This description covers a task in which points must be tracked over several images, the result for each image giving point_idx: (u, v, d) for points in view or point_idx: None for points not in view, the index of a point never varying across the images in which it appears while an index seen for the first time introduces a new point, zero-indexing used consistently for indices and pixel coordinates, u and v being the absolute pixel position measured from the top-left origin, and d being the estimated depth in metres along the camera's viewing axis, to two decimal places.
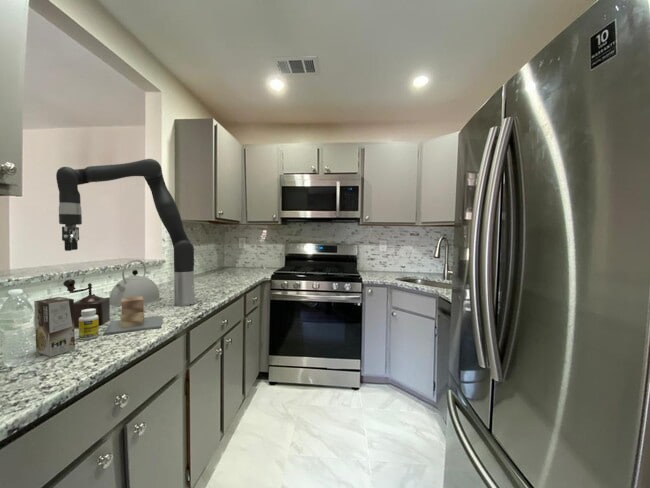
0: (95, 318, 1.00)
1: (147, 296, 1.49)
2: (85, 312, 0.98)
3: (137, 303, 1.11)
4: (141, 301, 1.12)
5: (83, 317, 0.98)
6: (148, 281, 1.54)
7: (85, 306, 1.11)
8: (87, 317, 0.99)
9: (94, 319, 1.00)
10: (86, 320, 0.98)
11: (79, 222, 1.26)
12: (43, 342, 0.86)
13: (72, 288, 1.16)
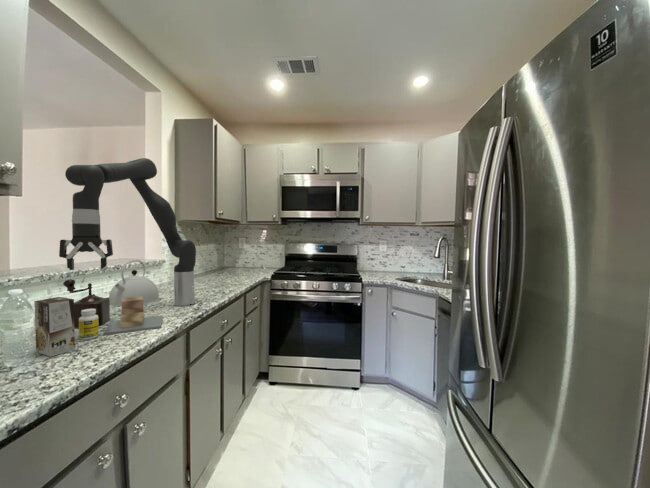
0: (95, 318, 1.00)
1: (146, 296, 1.49)
2: (85, 312, 0.98)
3: (137, 303, 1.11)
4: (141, 301, 1.12)
5: (83, 317, 0.98)
6: (147, 281, 1.54)
7: (85, 306, 1.11)
8: (87, 317, 0.99)
9: (94, 319, 1.00)
10: (86, 320, 0.98)
11: None
12: (43, 342, 0.86)
13: (72, 288, 1.16)
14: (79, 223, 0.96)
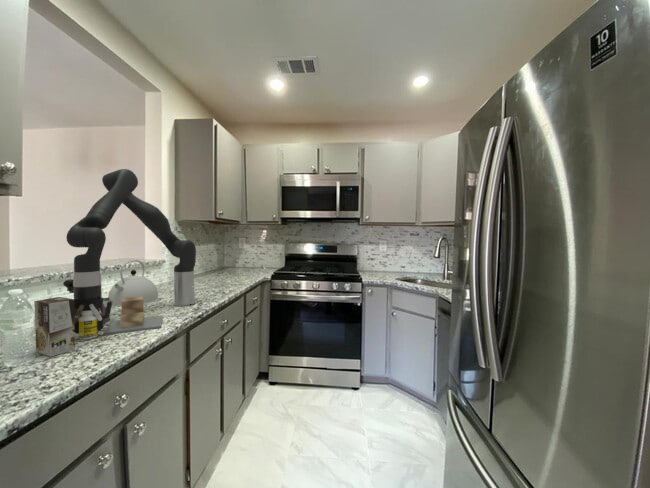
0: (95, 318, 1.00)
1: (145, 296, 1.49)
2: (85, 312, 0.98)
3: (137, 303, 1.11)
4: (141, 301, 1.12)
5: (83, 317, 0.98)
6: (146, 281, 1.54)
7: None
8: (87, 317, 0.99)
9: (94, 319, 1.00)
10: (86, 320, 0.98)
11: None
12: (43, 342, 0.86)
13: (72, 288, 1.16)
14: (80, 287, 0.96)
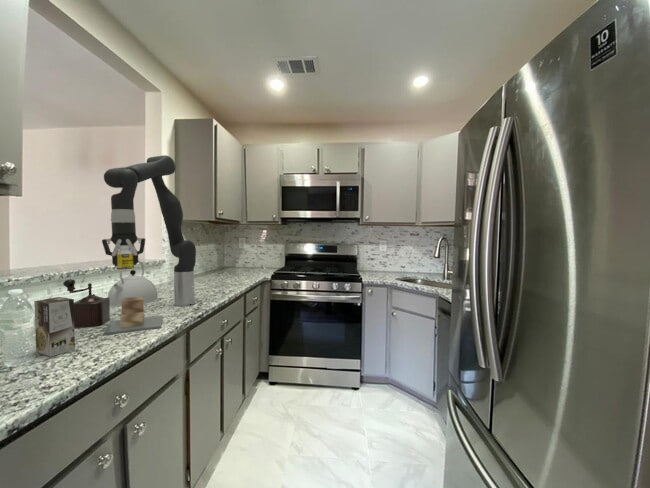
0: (131, 252, 1.10)
1: (144, 296, 1.49)
2: (122, 246, 1.08)
3: (137, 303, 1.11)
4: (141, 301, 1.12)
5: (121, 251, 1.08)
6: (146, 281, 1.54)
7: (85, 306, 1.11)
8: (124, 250, 1.08)
9: (130, 253, 1.09)
10: (124, 253, 1.08)
11: None
12: (43, 342, 0.86)
13: (72, 288, 1.16)
14: (118, 222, 1.06)
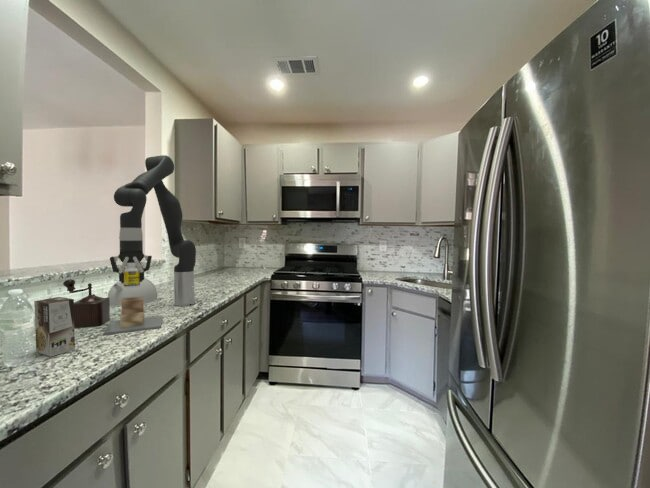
0: (138, 270, 1.12)
1: (144, 296, 1.49)
2: (129, 263, 1.10)
3: (137, 303, 1.11)
4: (141, 301, 1.12)
5: (128, 268, 1.10)
6: (146, 281, 1.54)
7: (85, 306, 1.11)
8: (131, 268, 1.11)
9: (137, 270, 1.12)
10: (130, 271, 1.10)
11: None
12: (43, 342, 0.86)
13: (72, 288, 1.16)
14: (126, 240, 1.08)
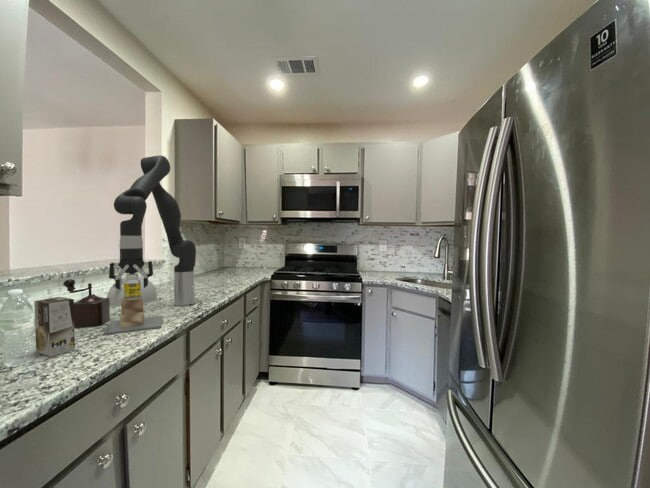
0: (138, 281, 1.12)
1: (144, 296, 1.49)
2: (130, 276, 1.11)
3: (136, 303, 1.11)
4: (141, 301, 1.12)
5: (128, 280, 1.11)
6: None
7: (85, 306, 1.11)
8: (131, 280, 1.11)
9: (137, 282, 1.12)
10: (131, 283, 1.10)
11: None
12: (43, 342, 0.86)
13: (72, 288, 1.16)
14: (126, 248, 1.08)
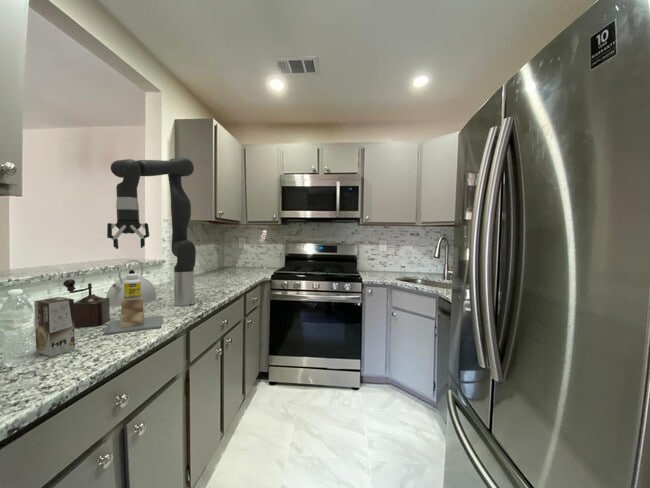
0: (138, 281, 1.12)
1: (143, 296, 1.49)
2: (130, 276, 1.11)
3: (136, 303, 1.11)
4: (141, 301, 1.12)
5: (128, 280, 1.11)
6: (145, 281, 1.53)
7: (85, 306, 1.11)
8: (131, 280, 1.11)
9: (137, 282, 1.12)
10: (131, 283, 1.10)
11: None
12: (43, 342, 0.86)
13: (72, 288, 1.16)
14: (123, 209, 1.14)
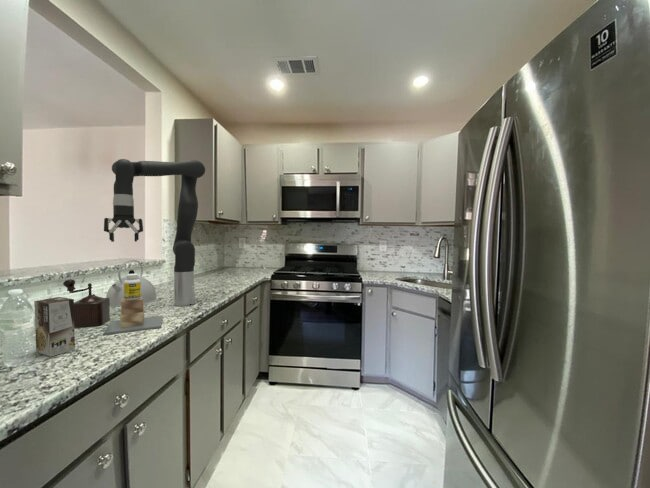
0: (138, 281, 1.12)
1: (143, 296, 1.49)
2: (130, 276, 1.11)
3: (136, 303, 1.11)
4: (141, 301, 1.12)
5: (128, 280, 1.11)
6: (144, 281, 1.53)
7: (85, 306, 1.11)
8: (131, 280, 1.11)
9: (137, 282, 1.12)
10: (131, 283, 1.10)
11: None
12: (43, 342, 0.86)
13: (72, 288, 1.16)
14: (119, 205, 1.23)
